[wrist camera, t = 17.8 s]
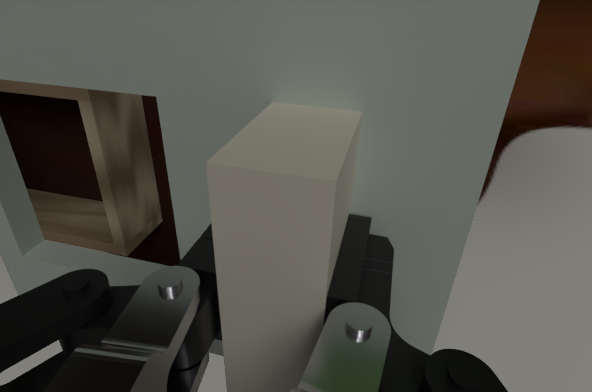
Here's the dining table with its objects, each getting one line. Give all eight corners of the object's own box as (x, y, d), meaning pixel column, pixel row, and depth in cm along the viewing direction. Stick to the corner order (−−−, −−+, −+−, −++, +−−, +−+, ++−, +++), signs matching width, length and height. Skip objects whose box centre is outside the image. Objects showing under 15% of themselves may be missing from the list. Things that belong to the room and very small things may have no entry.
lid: (-85, -41, 12) (-353, -49, 8) (529, -18, 9) (644, -11, 4) (43, 288, 19) (-64, 379, 15) (415, 376, 16) (417, 530, 11)
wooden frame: (-49, 51, 34) (-122, 64, 29) (136, 69, 30) (86, 86, 26) (7, 192, 41) (-45, 221, 36) (162, 220, 37) (127, 256, 33)
